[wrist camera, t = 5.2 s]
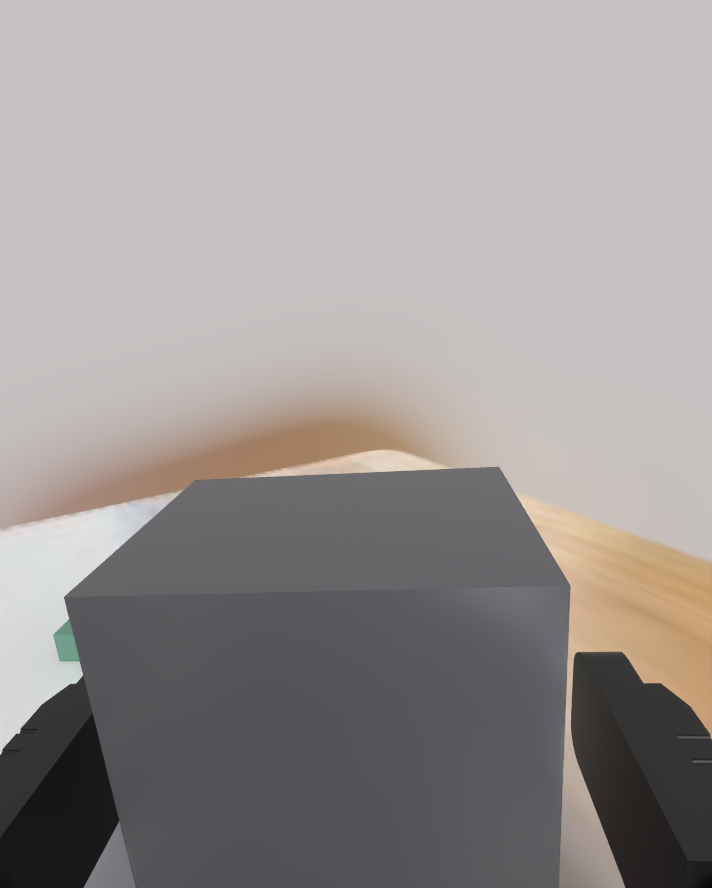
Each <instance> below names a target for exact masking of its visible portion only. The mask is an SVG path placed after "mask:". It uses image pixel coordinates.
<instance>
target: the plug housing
mask: <svg viewBox="0 0 712 888" xmlns="http://www.w3.org/2000/svg"><path fill="white" fill-rule="evenodd" d="M64 599H65V603H66V607H67V611H68V615H69V619H70V623H71V627H72V631H73V635H74V639H75V644H76V648H77V652H78V656H79V660H80V664H81V668H82V672H83V676H84V680H85V684H86V688H87V692H88V696H89V700H90V704H91V708H92V712H93V716H94V720H95V724H96V728H97V732H98V736H99V740H100V745H101V749H102V753H103V757H104V761H105V765H106V769H107V773H108V777H109V781H110V785H111V789H112V793H113V797H114V801H115V805H116V809H117V813H118V817H119V821H120V825H121V829H122V833H123V837H124V842H125V846H126V850H127V854H128V858H129V862H130V866H131V870H132V874H133V878H134V882H135V886H136V888H558V886H559V860H560V835H561V810H562V784H563V759H564V734H565V708H566V683H567V658H568V632H569V607H570V584H569V583H568V581H567V579H566V578H565V576H564V574H563V573H562V571H561V569H560V568H559V566H558V564H557V563H556V561H555V559H554V558H553V556H552V554H551V553H550V551H549V549H548V548H547V546H546V544H545V543H544V541H543V539H542V538H541V536H540V534H539V533H538V531H537V529H536V528H535V526H534V524H533V523H532V521H531V519H530V518H529V516H528V514H527V513H526V511H525V509H524V508H523V506H522V504H521V503H520V501H519V499H518V498H517V496H516V494H515V493H514V491H513V489H512V488H511V486H510V484H509V483H508V481H507V479H506V478H505V476H504V474H503V473H502V471H501V469H500V468H499V467H486V468H465V469H440V470H417V471H394V472H372V473H349V474H326V475H304V476H281V477H258V478H235V479H213V480H195V481H194V482H193V483H192V484H191V485H189V486H188V487H187V488H186V489H185V490H184V491H183V492H182V493H180V494H179V495H178V496H177V497H176V498H175V499H174V500H173V501H171V502H170V503H169V504H168V505H167V506H166V507H165V508H164V509H162V510H161V511H160V512H159V513H158V514H157V515H156V516H155V517H153V518H152V519H151V520H150V521H149V522H148V523H147V524H146V525H144V526H143V527H142V528H141V529H140V530H139V531H138V532H137V533H135V534H134V535H133V536H132V537H131V538H130V539H129V540H128V541H126V542H125V543H124V544H123V545H122V546H121V547H120V548H119V549H117V550H116V551H115V552H114V553H113V554H112V555H111V556H110V557H109V558H107V559H106V560H105V561H104V562H103V563H102V564H101V565H100V566H98V567H97V568H96V569H95V570H94V571H93V572H92V573H91V574H89V575H88V576H87V577H86V578H85V579H84V580H83V581H82V582H80V583H79V584H78V585H77V586H76V587H75V588H74V589H73V590H71V591H70V592H69V593H68V594H67V595H66V596H65V597H64Z"/></svg>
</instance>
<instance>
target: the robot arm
mask: <svg viewBox="0 0 712 888" xmlns="http://www.w3.org/2000/svg"><path fill="white" fill-rule="evenodd" d="M571 732H572V740H573V746H574V751H575V755H576V758H577V762H578V764H579V767H580V770H581V772H582V775H583V778H584V780H585V783H586V785H587V788H588V791H589V793H590V796H591V798H592V801H593V804H594V806H595V809H596V811H597V814H598V817H599V819H600V822H601V824H602V827H603V830H604V832H605V835H606V838H607V840H608V843H609V845H610V848H611V851H612V853H613V856H614V858H615V861H616V864H617V866H618V869H619V871H620V874H621V877H622V879H623V882H624V884H625V887H626V888H712V740H711V737H710V734H709V732H708V731H707V729H706V728H705V727H704V725H703V724H702V722H701V721H700V720H699V718H698V717H697V715H696V714H695V712H694V711H693V710H692V708H691V707H690V706H689V705H688V704H686V703H685V702H684V701H683V700H681V699H680V698H679V697H677V696H676V695H675V694H674V693H672V692H671V691H670V690H669V689H667V688H666V687H665V686H663V685H662V684H661V683H647V684H643V682H642V680H641V679H640V677H639V676H638V674H637V673H636V671H635V669H634V668H633V666H632V665H631V663H630V661H629V660H628V658H627V657H626V656H625V655H624V654H623V653H622V652H577V653H576V654H575V657H574V666H573V688H572V710H571ZM2 750H3V751H2V754H1V755H0V888H84V886H85V884H86V882H87V880H88V878H89V876H90V875H91V873H92V871H93V869H94V867H95V865H96V863H97V861H98V860H99V858H100V856H101V854H102V852H103V850H104V848H105V847H106V845H107V843H108V841H109V839H110V837H111V835H112V834H113V832H114V830H115V828H116V826H117V824H118V822H119V817H118V813H117V809H116V805H115V801H114V797H113V793H112V789H111V785H110V781H109V777H108V773H107V769H106V765H105V761H104V757H103V753H102V749H101V745H100V740H99V736H98V732H97V728H96V724H95V720H94V716H93V712H92V708H91V704H90V700H89V696H88V692H87V688H86V684H85V680H84V676H82V678H81V679H80V680H79V681H78V682H77V683H76V684H70V685H68V686H67V687H66V688H64V689H63V690H61V691H60V692H59V693H57V694H56V695H55V696H53V697H52V698H50V699H49V700H48V701H46V702H45V703H44V704H42V705H41V706H40V707H39V709H38V710H37V711H36V712H35V713H34V714H33V715H32V717H31V718H30V719H29V720H28V721H27V722H26V723H25V725H24V726H23V727H22V728H21V731H20V734H16V735H15V736H14V737H13V738H12V739H11V740H10V742H9V743H8V744H7V745H6V746H5V747H4V748H3V749H2Z"/></svg>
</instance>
